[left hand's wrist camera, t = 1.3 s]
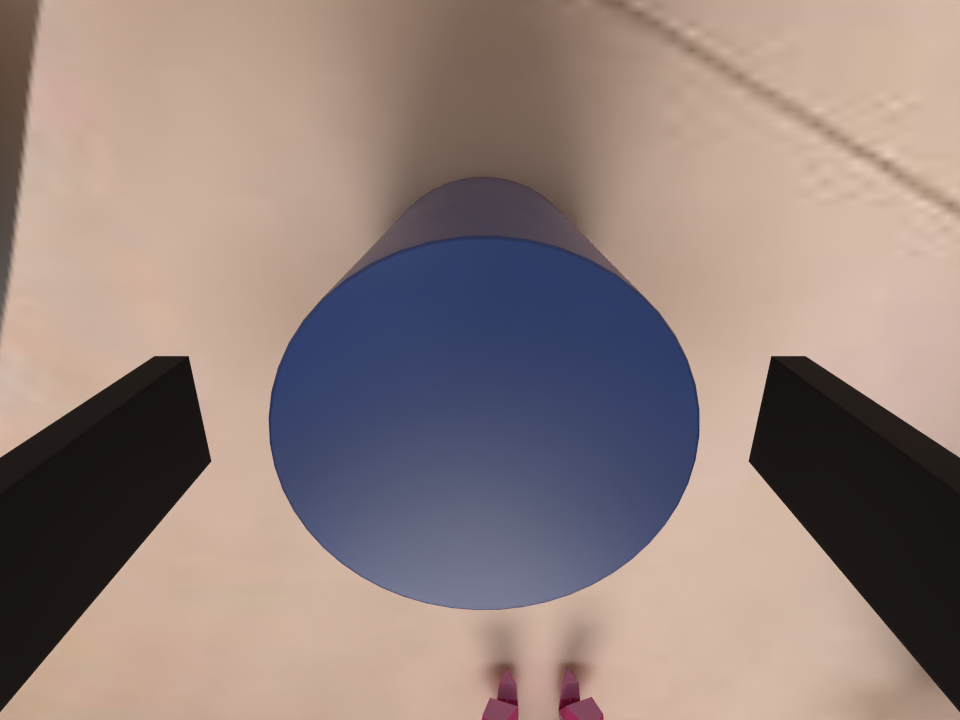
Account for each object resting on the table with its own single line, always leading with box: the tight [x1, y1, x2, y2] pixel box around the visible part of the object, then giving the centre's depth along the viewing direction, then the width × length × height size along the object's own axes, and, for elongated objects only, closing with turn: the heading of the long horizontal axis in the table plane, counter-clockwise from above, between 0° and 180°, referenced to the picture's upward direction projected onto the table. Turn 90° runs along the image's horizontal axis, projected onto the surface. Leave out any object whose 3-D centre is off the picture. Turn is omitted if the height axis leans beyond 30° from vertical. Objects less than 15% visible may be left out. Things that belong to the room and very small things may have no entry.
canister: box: [269, 177, 699, 610], centre depth 16 cm, size 8×8×12 cm
